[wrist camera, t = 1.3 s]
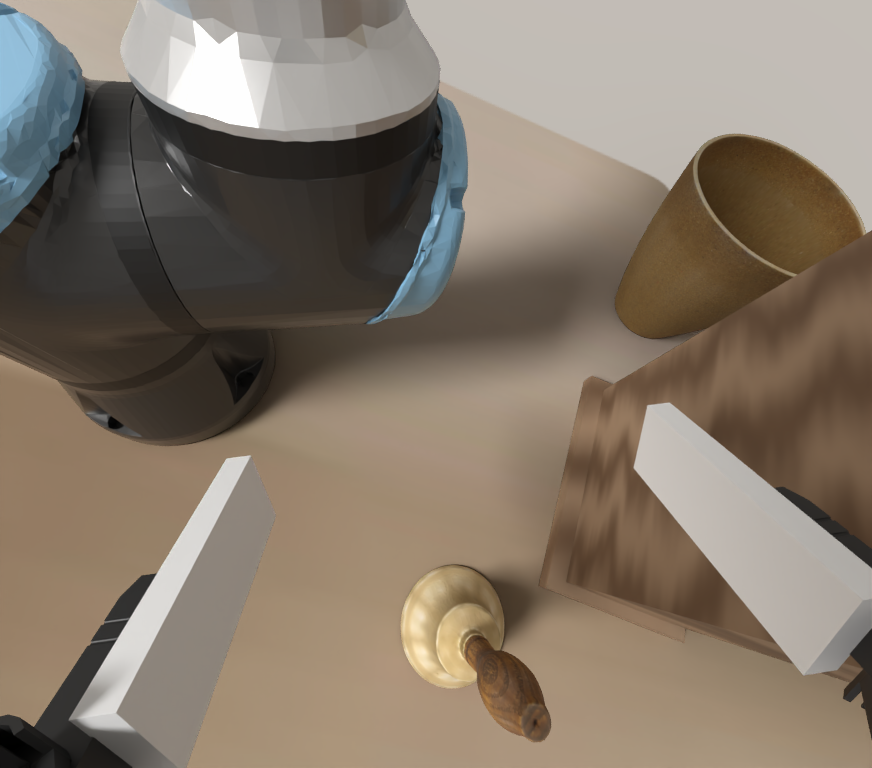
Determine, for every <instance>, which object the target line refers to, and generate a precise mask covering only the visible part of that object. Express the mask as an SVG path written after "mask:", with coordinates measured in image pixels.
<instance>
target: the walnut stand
mask: <svg viewBox="0 0 872 768" xmlns="http://www.w3.org/2000/svg"><path fill="white" fill-rule="evenodd" d="M662 403H671V404H672V405H673V406H675V407H676V408H677V409H678V410H679V411H681V412H682V413H683V414H684V415H686V416H687V417H688V418H689V419H690V420H692V421H693V422H694V423H695V424H696V425H698V426H699V427H700V428H701V429H703V430H704V431H705V432H706V433H707V434H709V435H710V436H711V437H712V438H714V439H715V440H716V441H717V442H718V443H720V444H721V445H722V446H723V447H725V448H726V449H727V450H728V451H729V452H731V453H732V454H733V455H734V456H735V457H737V458H738V459H739V460H740V461H742V462H743V463H744V464H745V465H746V466H748V467H749V468H750V469H751V470H753V471H754V472H755V473H756V474H757V475H759V476H760V477H761V478H762V479H764V480H765V481H766V482H767V483H768V484H770V485H771V486H772V487H773V488H776V487H785V488H787V489H789V490H791V491H793V492H795V493H796V494H798V495H800V496H802V497H804V498H806V499H808V500H810V501H811V502H812V503H813V504H815V505H816V506H817V507H819V508H820V509H821V510H822V511H824V512H825V513H826V514H828V515H829V516H830V517H831V520H833V521H834V520H835V521H837V522H838V523H839V524H840V525H842V526H843V527H844V528H846V529H847V530H848V531H849V534H850V535H854V536H856V537H857V538H858V539H860V540H861V541H862V542H863V543H865V544H866V545H867V546H869V547H870V548H871V549H872V231H870V232H868V233H867V234H865V235H863V236H862V237H860V238H858V239H857V240H855V241H853V242H852V243H850V244H848V245H847V246H845V247H843V248H841V249H840V250H838V251H836V252H835V253H833V254H831V255H830V256H828V257H826V258H825V259H823V260H821V261H820V262H818V263H816V264H815V265H813V266H811V267H810V268H808V269H806V270H805V271H803V272H801V273H800V274H798V275H796V276H794V277H793V278H791V279H789V280H788V281H786V282H784V283H783V284H781V285H779V286H778V287H776V288H774V289H773V290H771V291H769V292H768V293H766V294H764V295H763V296H761V297H759V298H758V299H756V300H754V301H753V302H751V303H749V304H747V305H746V306H744V307H742V308H741V309H739V310H737V311H736V312H734V313H732V314H731V315H729V316H727V317H726V318H724V319H722V320H721V321H719V322H717V323H716V324H714V325H712V326H711V327H709V328H707V329H705V330H704V331H702V332H700V333H699V334H697V335H695V336H694V337H692V338H690V339H689V340H687V341H685V342H684V343H682V344H680V345H679V346H677V347H675V348H674V349H672V350H670V351H669V352H667V353H665V354H664V355H662V356H660V357H658V358H657V359H655V360H653V361H652V362H650V363H648V364H647V365H645V366H643V367H642V368H640V369H638V370H637V371H635V372H633V373H632V374H630V375H628V376H627V377H625V378H623V379H622V380H620V381H618V382H617V383H615V384H611V383H608V382H606V381H603V380H601V379H598V378H596V377H593V376H591V377H589V378H588V379H587V380H585V381H584V383H583V388H582V392H581V397H580V401H579V406H578V411H577V415H576V420H575V424H574V429H573V433H572V438H571V442H570V447H569V451H568V456H567V460H566V465H565V469H564V474H563V478H562V483H561V487H560V492H559V496H558V501H557V505H556V510H555V514H554V519H553V523H552V528H551V532H550V537H549V541H548V546H547V550H546V555H545V559H544V564H543V568H542V573H541V577H540V582H539V586H541V587H543V588H546V589H548V590H551V591H553V592H556V593H558V594H561V595H563V596H566V597H568V598H571V599H573V600H576V601H578V602H581V603H584V604H586V605H589V606H591V607H594V608H596V609H599V610H601V611H604V612H606V613H609V614H611V615H614V616H616V617H619V618H621V619H624V620H626V621H629V622H631V623H634V624H637V625H639V626H642V627H644V628H647V629H649V630H652V631H654V632H657V633H659V634H662V635H664V636H667V637H669V638H672V639H675V640H677V641H680V642H682V643H684V641H685V628H686V629H689V630H692V631H695V632H698V633H701V634H704V635H707V636H710V637H714V638H717V639H720V640H723V641H726V642H729V643H732V644H735V645H738V646H741V647H744V648H747V649H750V650H753V651H756V652H759V653H762V654H765V655H768V656H771V657H774V658H777V659H780V660H783V661H786V662H790V663H793V662H792V661H791V660H790V658H789V657H788V656H787V655H786V654H785V652H784V651H783V650H782V649H781V647H780V646H779V645H778V644H777V643H776V641H775V640H774V639H773V638H772V637H771V635H770V634H769V633H768V632H767V630H766V629H765V628H764V627H763V626H762V624H761V623H760V622H759V621H758V619H757V618H756V617H755V616H754V615H753V613H752V612H751V611H750V610H749V608H748V607H747V606H746V605H745V604H744V602H743V601H742V600H741V599H740V597H739V596H738V595H737V594H736V593H735V591H734V590H733V589H732V588H731V586H730V585H729V584H728V583H727V582H726V580H725V579H724V578H723V577H722V575H721V574H720V573H719V572H718V571H717V569H716V568H715V567H714V566H713V564H712V563H711V562H710V561H709V560H708V558H707V557H706V556H705V555H704V553H703V552H702V551H701V550H700V549H699V547H698V546H697V545H696V544H695V542H694V541H693V540H692V539H691V538H690V536H689V535H688V534H687V533H686V531H685V530H684V529H683V528H682V527H681V525H680V524H679V523H678V522H677V520H676V519H675V518H674V517H673V516H672V514H671V513H670V512H669V511H668V509H667V508H666V507H665V506H664V505H663V503H662V502H661V501H660V500H659V498H658V497H657V496H656V495H655V494H654V492H653V491H652V490H651V489H650V487H649V486H648V485H647V484H646V483H645V481H644V480H643V479H642V478H641V476H640V475H639V474H638V473H637V472H636V470H635V469H634V464H635V459H636V455H637V450H638V446H639V441H640V437H641V432H642V428H643V423H644V419H645V414H646V410H647V405H654V404H662ZM793 664H794V663H793ZM862 670H863V668H862V667H861V666H860V665H859V664H858V663H857V661H856V660H855V659H854V658H853V657H852V656H851V655H850V656H849V657H848V658H847V659H846V661H845V662H844V663H843V664H842V665H841V666H840V667H839V669H838V670H835V671H828V672H822V673H823V674H826V675H829V676H832V677H835V678H838V679H841V680H844V681H847V682H850V683H851V682H852V680H853V679H854V678H855V677H856V676H857V675H858V674H859V673H860V672H861V671H862Z"/></svg>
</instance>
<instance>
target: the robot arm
mask: <svg viewBox="0 0 872 768" xmlns="http://www.w3.org/2000/svg"><path fill="white" fill-rule="evenodd" d="M120 53H121V56H122V60H123V63H124V65H125V68H126V71H127V74H128V76H129V78H130V80H131V82H116V81H100V80H89V79H87V78H85V77H83V76H82V69H81V67H80V66H79V64H78V62H77V60H76V58H75V57H74V55H73V53H71V52H70V51H69V50H68V48H67V47H66V46H64V45H62V44H61V43H59V42H58V41H57V40H56V39H55V38H54V36H53V35H52V34H51V33H50V32H49V31H48V30H47V29H46V28H45V27H44V26H43V25H42V24H41V23H39V22H38V21H36V20H35V19H33V18H31V17H29V16H28V15H26V14H23V13H20V12H18V11H17V10H16V9H14V8H12V7H10V6H8V5H5V4H3V3H0V355H3V356H5V357H7V358H9V359H12V360H14V361H16V362H18V363H20V364H23V365H25V366H27V367H29V368H31V369H34V370H36V371H38V372H40V373H43V374H45V375H47V376H49V377H52V378H54V379H56V380H58V382H59V383H60V384H61V385H62V386H63V388H64V389H65V390H66V391H67V393H68V394H69V395H70V396H71V398H72V399H73V400H74V401H75V403H76V404H77V405H78V406H79V407H80V409H81V410H82V411H83V412H84V413H85V414H86V415H87V416H88V417H89V418H90V419H91V420H92V421H94V422H95V423H96V424H98V425H99V426H101V427H103V428H104V429H106V430H108V431H110V432H112V433H114V434H117V435H120V436H122V437H125V438H128V439H131V440H134V441H137V442H140V443H145V444H150V445H159V446H173V445H183V444H189V443H193V442H197V441H201V440H204V439H207V438H209V437H212V436H214V435H216V434H219V433H221V432H223V431H224V430H226V429H228V428H229V427H231V426H233V425H234V424H236V423H237V422H238V421H240V420H241V419H242V418H243V417H244V416H246V415H247V414H248V413H249V412H250V411H251V410H252V409H253V407H254V406H255V405H256V404H257V403H258V401H259V400H260V399H261V397H262V396H263V394H264V392H265V391H266V389H267V387H268V385H269V382H270V380H271V377H272V374H273V370H274V364H275V348H274V342H273V338H272V335H271V333H270V329H285V328H301V327H316V326H332V325H347V324H375V323H378V322H380V321H382V320H384V319H391V318H398V317H405V316H412V315H416V314H419V313H421V312H423V311H425V310H426V309H428V308H429V307H430V306H432V305H433V304H434V303H435V302H436V300H437V299H438V298H439V296H440V295H441V294H442V292H443V290H444V289H445V287H446V285H447V283H448V280H449V278H450V276H451V273H452V271H453V268H454V265H455V261H456V258H457V255H458V251H459V247H460V243H461V238H462V233H463V227H464V220H465V211H464V210H463V207H462V199H463V196H464V193H465V191H466V189H467V182H468V157H467V145H466V138H465V132H464V128H463V124H462V121H461V118H460V116H459V114H458V112H457V110H456V108H455V106H454V105H453V103H452V102H451V101H450V100H448V99H446V98H444V97H443V96H442V95H441V94H439V93H438V90H439V83H440V80H439V78H440V66H439V61H438V58H437V56H436V54H435V52H434V51H433V49H432V47H431V46H430V44H429V43H428V41H427V40H426V38H425V37H424V35H423V33H422V32H421V30H420V29H419V27H418V26H417V24H416V22H415V21H414V19H413V18H412V16H411V14H410V11H409V9H408V6H407V3H406V0H138V2H137V4H136V7H135V10H134V12H133V15H132V17H131V20H130V22H129V25H128V27H127V29H126V31H125V34H124V36H123V38H122V42H121V48H120ZM634 469H635V470H636V472H637V473H638V474H639V475H640V476H641V478H642V479H643V480H644V481H645V483H646V484H647V485H648V486H649V487H650V489H651V490H652V491H653V492H654V494H655V495H656V496H657V497H658V498H659V500H660V501H661V502H662V503H663V505H664V506H665V507H666V508H667V509H668V511H669V512H670V513H671V514H672V516H673V517H674V518H675V519H676V520H677V522H678V523H679V524H680V525H681V527H682V528H683V529H684V530H685V531H686V533H687V534H688V535H689V536H690V538H691V539H692V540H693V541H694V542H695V544H696V545H697V546H698V547H699V549H700V550H701V551H702V552H703V553H704V555H705V556H706V557H707V558H708V560H709V561H710V562H711V563H712V564H713V566H714V567H715V568H716V569H717V571H718V572H719V573H720V574H721V575H722V577H723V578H724V579H725V580H726V582H727V583H728V584H729V585H730V586H731V588H732V589H733V590H734V591H735V593H736V594H737V595H738V596H739V597H740V599H741V600H742V601H743V602H744V604H745V605H746V606H747V607H748V608H749V610H750V611H751V612H752V613H753V615H754V616H755V617H756V618H757V619H758V621H759V622H760V623H761V624H762V626H763V627H764V628H765V629H766V630H767V632H768V633H769V634H770V635H771V637H772V638H773V639H774V640H775V641H776V643H777V644H778V645H779V646H780V647H781V649H782V650H783V651H784V652H785V654H786V655H787V656H788V657H789V658H790V660H791V661H792V662H793V663H794V665H795V666H796V667H797V668H798V669H799V671H800V672H801V673H802V674H803V675H809V674H816V673H822V672H828V671H835V670H838V669H839V667H840V666H841V665H842V664H843V663H844V662H845V661H846V659H847V658H848V657H849V656H850V655H851V656H852V657H853V658H854V659H855V660H856V661H857V663H858V664H859V665H860V666H861V667H862V668H863V670H862V671H861V672H860V673H859V674H858V675H857V676H856V677H855V678H854V679H853V680H852V682H851V683H850V684H849V685H848V686H847V687H846V688H845V689H844V696H843V699H845V700H847V701H849V702H851V701H852V700H853V699H854V698H855V697H856V696H857V695H858V694H859V693H860V692H861V691H862V696H863V701H864V702H863V704H862V705H861V707H862V708H864V709H865V710H866V715H867V720H868V724H869V729H870V734H871V738H872V549H871V548H870V547H869V546H867V545H866V544H865V543H863V542H862V541H861V540H860V539H858V538H857V537H856V536H854V535H850V534H849V531H848V530H847V529H846V528H844V527H843V526H842V525H840V524H839V523H838V522H837V521H835V520H834V521H833V520H831V517H830V516H829V515H828V514H826V513H825V512H824V511H822V510H821V509H820V508H819V507H817V506H816V505H815V504H813V503H812V502H811V501H810V500H808V499H806V498H804V497H802V496H800V495H798V494H796V493H795V492H793V491H791V490H789V489H787V488H785V487H776V488H773V487H772V486H771V485H770V484H768V483H767V482H766V481H765V480H764V479H762V478H761V477H760V476H759V475H757V474H756V473H755V472H754V471H753V470H751V469H750V468H749V467H748V466H746V465H745V464H744V463H743V462H742V461H740V460H739V459H738V458H737V457H735V456H734V455H733V454H732V453H731V452H729V451H728V450H727V449H726V448H725V447H723V446H722V445H721V444H720V443H718V442H717V441H716V440H715V439H714V438H712V437H711V436H710V435H709V434H707V433H706V432H705V431H704V430H703V429H701V428H700V427H699V426H698V425H696V424H695V423H694V422H693V421H692V420H690V419H689V418H688V417H687V416H686V415H684V414H683V413H682V412H681V411H679V410H678V409H677V408H676V407H675V406H673V405H672V404H671V403H662V404H654V405H647V410H646V414H645V419H644V423H643V428H642V432H641V437H640V441H639V446H638V450H637V455H636V459H635V464H634ZM275 517H276V514H275V512H274V509H273V507H272V504H271V502H270V500H269V497H268V495H267V493H266V490H265V488H264V485H263V483H262V481H261V478H260V476H259V474H258V471H257V469H256V466H255V464H254V462H253V459H252V457H251V456H243V457H235V458H227V459H226V461H225V462H224V464H223V465H222V467H221V469H220V470H219V472H218V474H217V475H216V477H215V479H214V480H213V482H212V484H211V485H210V487H209V489H208V490H207V492H206V494H205V495H204V497H203V499H202V500H201V502H200V503H199V505H198V507H197V508H196V510H195V512H194V513H193V515H192V517H191V518H190V520H189V522H188V523H187V525H186V527H185V528H184V530H183V532H182V533H181V535H180V537H179V538H178V540H177V541H176V543H175V545H174V546H173V548H172V550H171V551H170V553H169V555H168V556H167V558H166V560H165V561H164V563H163V565H162V566H161V568H160V570H159V571H158V573H157V574H150V575H143V576H141V577H140V578H139V579H138V580H137V581H136V582H135V583H134V584H133V585H132V586H131V587H130V588H129V589H128V590H127V591H126V592H125V593H123V594H122V595H121V596H120V598H119V599H118V601H117V602H116V604H115V605H114V607H113V608H112V610H111V611H110V613H109V614H108V616H107V617H106V619H105V620H104V621H105V623H104V625H101V626H100V628H99V629H98V631H97V633H96V634H95V636H94V637H93V639H92V640H91V645H90V646H87V648H86V649H85V651H84V652H83V654H82V655H81V657H80V658H79V660H78V661H77V663H76V664H75V666H74V667H73V669H72V670H71V672H70V673H69V675H68V676H67V678H66V679H65V681H64V683H63V684H62V686H61V687H60V689H59V690H58V692H57V693H56V695H55V696H54V698H53V699H52V701H51V702H50V704H49V705H48V707H47V708H46V710H45V711H44V713H43V714H42V716H41V717H40V719H39V720H38V722H37V723H36V725H35V726H34V727H33V726H31V725H30V724H28V723H27V722H25V721H24V720H23V719H21V718H20V717H16V716H12V715H5V716H1V717H0V768H186V767H187V764H188V761H189V759H190V756H191V753H192V750H193V747H194V745H195V742H196V739H197V736H198V733H199V731H200V728H201V725H202V722H203V719H204V716H205V714H206V711H207V708H208V705H209V702H210V700H211V697H212V694H213V691H214V688H215V686H216V683H217V680H218V677H219V674H220V672H221V669H222V666H223V663H224V660H225V658H226V655H227V652H228V649H229V646H230V644H231V641H232V638H233V635H234V632H235V630H236V627H237V624H238V621H239V618H240V615H241V613H242V610H243V607H244V604H245V601H246V599H247V596H248V593H249V590H250V587H251V585H252V582H253V579H254V576H255V573H256V571H257V568H258V565H259V562H260V559H261V557H262V554H263V551H264V548H265V545H266V543H267V540H268V537H269V534H270V531H271V529H272V526H273V523H274V520H275Z"/></svg>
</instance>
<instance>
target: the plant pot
mask: <svg viewBox="0 0 872 768" xmlns="http://www.w3.org/2000/svg"><path fill="white" fill-rule="evenodd" d="M865 234H867V233H866V230H865V227H864V224H863V222H862V219H861V217H860V215H859V214H858V212H857V210H856V208H855V206H854V205H853V203H852V202H851V201H850V199H849V198H848V196H847V195H846V194H845V193H844V192H843V190H842V189H841V188H840V187H839V186H838V185H837V184H836V183H835V182H834V181H833V180H832V179H831V178H830V177H829V176H828V175H827V174H826V173H824V172H823V171H822V170H821V169H819V168H818V167H817V166H816V165H814V164H813V163H812V162H810V161H809V160H808V159H806V158H804V157H803V156H801V155H799V154H798V153H796V152H795V151H793V150H791V149H789V148H787V147H785V146H783V145H781V144H779V143H776V142H774V141H771V140H768V139H764V138H760V137H757V136H751V135H745V134H727V135H722V136H718V137H715V138H713V139H711V140H709V141H707V142H706V143H705V144H703V145H702V146H701V147H700V149H699V150H698V151H697V153H696V154H695V156H694V157H693V158H692V160H691V161H690V163H689V164H688V166H687V167H686V169H685V170H684V171H683V173H682V174H681V176H680V178H679V179H678V180H677V182H676V183H675V185H674V186H673V188H672V189H671V191H670V192H669V194H668V195H667V197H666V198H665V200H664V201H663V203H662V205H661V206H660V208H659V209H658V211H657V213H656V214H655V216H654V218H653V219H652V221H651V223H650V224H649V226H648V228H647V230H646V231H645V233H644V235H643V237H642V238H641V240H640V242H639V244H638V246H637V248H636V250H635V252H634V254H633V256H632V258H631V260H630V262H629V264H628V267H627V269H626V271H625V273H624V276H623V278H622V281H621V283H620V286H619V288H618V291H617V294H616V297H615V308H616V311H617V314H618V316H619V318H620V320H621V321H622V322H623V323H624V325H625V326H626V327H627V328H628V329H630V330H631V331H632V332H634V333H636V334H638V335H640V336H642V337H646V338H652V339H655V338H663V337H669V336H675V335H680V334H685V333H690V332H694V331H698V330H702V329H706V328H709V327H711V326H712V325H714V324H716V323H717V322H719V321H721V320H722V319H724V318H726V317H727V316H729V315H731V314H732V313H734V312H736V311H737V310H739V309H741V308H742V307H744V306H746V305H747V304H749V303H751V302H753V301H754V300H756V299H758V298H759V297H761V296H763V295H764V294H766V293H768V292H769V291H771V290H773V289H774V288H776V287H778V286H779V285H781V284H783V283H784V282H786V281H788V280H789V279H791V278H793V277H794V276H796V275H798V274H800V273H801V272H803V271H805V270H806V269H808V268H810V267H811V266H813V265H815V264H816V263H818V262H820V261H821V260H823V259H825V258H826V257H828V256H830V255H831V254H833V253H835V252H836V251H838V250H840V249H841V248H843V247H845V246H847V245H848V244H850V243H852V242H853V241H855V240H857V239H858V238H860V237H862V236H863V235H865Z"/></svg>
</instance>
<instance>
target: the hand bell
mask: <svg viewBox="0 0 872 768" xmlns="http://www.w3.org/2000/svg"><path fill="white" fill-rule="evenodd" d="M503 638H504V614H503V609H502V605H501V602H500V600H499V597H498V595H497V593H496V591H495V590H494V588H493V587H492V585H491V584H490V583H489V582H488V581H487V580H486V579H485V578H484V577H483V576H482V575H481V574H479V573H478V572H476V571H474V570H472V569H470V568H467V567H464V566H459V565H448V566H443V567H439V568H437V569H434V570H432V571H430V572H429V573H427V574H426V575H424V576H423V577H422V578H421V579H420V580H419V581H418V582H417V583H416V584H415V586H414V587H413V588H412V590H411V592H410V593H409V595H408V597H407V599H406V602H405V605H404V608H403V612H402V616H401V639H402V645H403V648H404V651H405V654H406V656H407V658H408V660H409V662H410V664H411V665H412V667H413V668H414V670H415V671H416V672H417V673H418V674H419V675H420V676H421V677H422V678H423V679H425V680H426V681H427V682H429V683H431V684H433V685H435V686H438V687H442V688H448V689H455V688H462V687H466V686H469V685H471V684H473V683H475V682H476V681H477V684H478V688H479V692H480V695H481V697H482V700H483V702H484V704H485V706H486V708H487V709H488V711H489V713H490V714H491V715H492V717H493V718H494V719H495V720H496V722H497V723H498V724H500V725H501V726H502V727H503V728H505V729H506V730H508V731H510V732H512V733H514V734H516V735H519V736H524V737H526V738H527V739H528V740H530V741H531V742H541V741H543V740H545V738H546V737H547V736H548V734H549V732H550V729H551V719H550V715H549V712H548V710H547V708H546V706H545V702H544V698H543V694H542V691H541V689H540V686H539V684H538V681H537V680H536V678H535V676H534V675H533V673H532V672H531V671H530V670H529V668H528V667H527V666H526V665H525V664H524V663H522V662H521V661H520V660H519V659H518V658H516V657H515V656H513V655H511V654H509V653H507V652H504V651H500V649H501V647H502V643H503Z"/></svg>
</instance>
